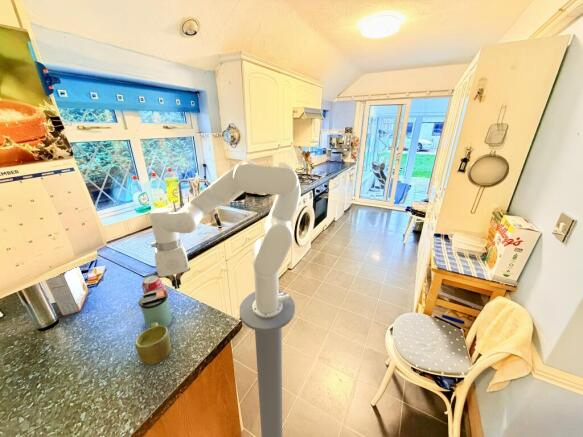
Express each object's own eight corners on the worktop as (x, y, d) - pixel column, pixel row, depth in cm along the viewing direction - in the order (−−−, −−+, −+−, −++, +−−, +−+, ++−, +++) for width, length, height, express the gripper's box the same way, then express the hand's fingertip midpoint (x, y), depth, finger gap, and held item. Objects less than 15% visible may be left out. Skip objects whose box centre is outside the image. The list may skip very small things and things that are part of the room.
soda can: (144, 303, 99) (137, 280, 94) (160, 294, 104) (155, 272, 100) (152, 310, 95) (146, 286, 91) (169, 301, 101) (164, 277, 96)
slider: (166, 290, 88) (165, 285, 88) (167, 296, 86) (165, 290, 85) (156, 293, 87) (155, 288, 86) (156, 298, 84) (155, 293, 83)
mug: (172, 361, 73) (157, 335, 71) (140, 376, 72) (123, 350, 69) (183, 335, 85) (170, 312, 82) (155, 347, 84) (141, 325, 81)
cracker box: (72, 295, 103) (55, 254, 96) (89, 291, 106) (74, 250, 98) (60, 317, 92) (40, 271, 84) (80, 312, 94) (61, 267, 87)
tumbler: (172, 310, 95) (166, 285, 91) (173, 326, 88) (167, 299, 83) (146, 318, 91) (138, 292, 87) (145, 336, 84) (137, 308, 79)
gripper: (143, 253, 75) (154, 299, 82) (192, 243, 82) (199, 286, 88) (144, 243, 81) (154, 286, 88) (190, 235, 88) (196, 276, 95)
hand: (177, 286), depth 88 cm, fingers closed
